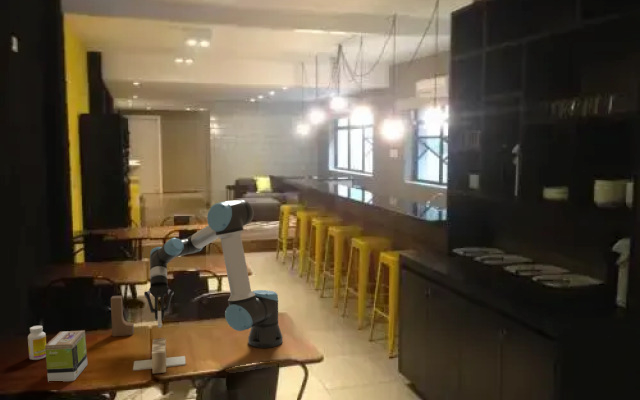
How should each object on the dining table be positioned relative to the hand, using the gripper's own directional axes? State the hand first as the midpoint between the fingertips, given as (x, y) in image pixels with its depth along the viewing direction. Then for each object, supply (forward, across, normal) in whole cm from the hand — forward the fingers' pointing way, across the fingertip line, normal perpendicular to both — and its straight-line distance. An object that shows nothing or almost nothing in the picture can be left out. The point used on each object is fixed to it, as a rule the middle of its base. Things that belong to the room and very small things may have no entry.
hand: (159, 325), depth 236 cm
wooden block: (-9, +17, -24) cm, 31 cm away
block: (+12, 0, +4) cm, 13 cm away
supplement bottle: (+4, +49, -10) cm, 50 cm away
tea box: (+19, +34, +4) cm, 39 cm away
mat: (+19, 0, +5) cm, 20 cm away
